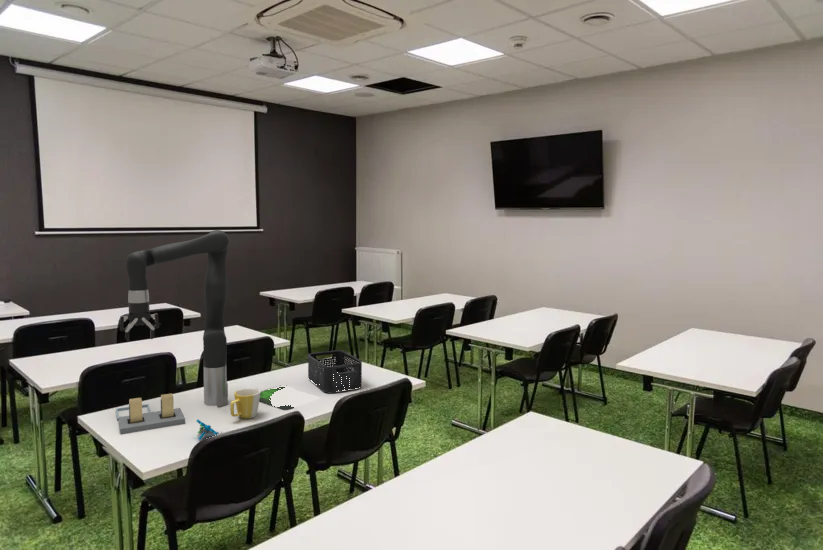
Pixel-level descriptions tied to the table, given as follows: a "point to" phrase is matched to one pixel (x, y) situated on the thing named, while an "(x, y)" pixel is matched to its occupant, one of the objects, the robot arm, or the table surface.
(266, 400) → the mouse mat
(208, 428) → the blue and green toy
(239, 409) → the mug
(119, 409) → the light blue tray
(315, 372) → the storage bin
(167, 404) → the seated billet
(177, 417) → the grey slotted fixture block
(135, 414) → the brass billet
